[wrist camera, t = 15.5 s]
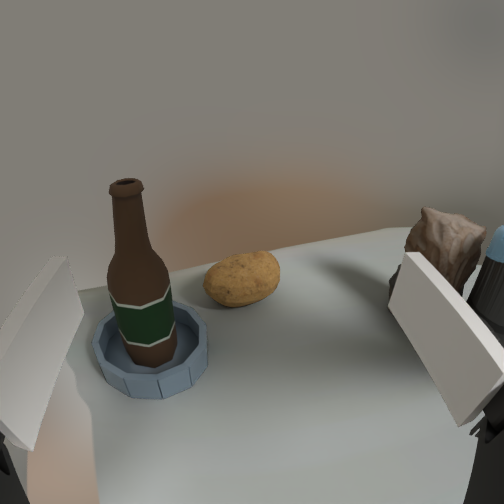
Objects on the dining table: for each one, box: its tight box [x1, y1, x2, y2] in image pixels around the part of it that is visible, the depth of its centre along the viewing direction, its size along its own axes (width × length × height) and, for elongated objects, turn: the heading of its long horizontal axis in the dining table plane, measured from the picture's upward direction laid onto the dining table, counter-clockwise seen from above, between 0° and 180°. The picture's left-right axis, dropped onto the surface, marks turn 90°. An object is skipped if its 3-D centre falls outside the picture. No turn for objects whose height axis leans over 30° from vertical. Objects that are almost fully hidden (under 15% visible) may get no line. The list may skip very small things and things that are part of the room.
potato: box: [203, 251, 280, 307], centre depth 52 cm, size 10×14×8 cm
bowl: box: [92, 300, 208, 399], centre depth 40 cm, size 16×16×4 cm
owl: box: [387, 207, 486, 313], centre depth 46 cm, size 13×13×20 cm
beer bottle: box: [107, 178, 177, 368], centre depth 35 cm, size 8×8×24 cm
